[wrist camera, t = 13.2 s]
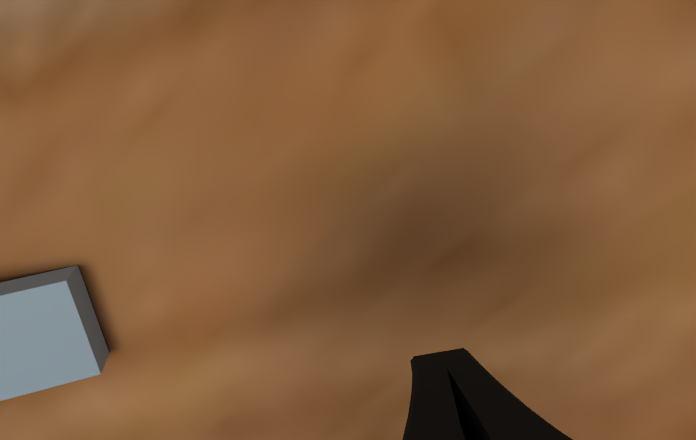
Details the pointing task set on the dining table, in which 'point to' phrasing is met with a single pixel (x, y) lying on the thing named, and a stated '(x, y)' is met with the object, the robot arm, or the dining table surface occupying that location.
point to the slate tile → (47, 333)
